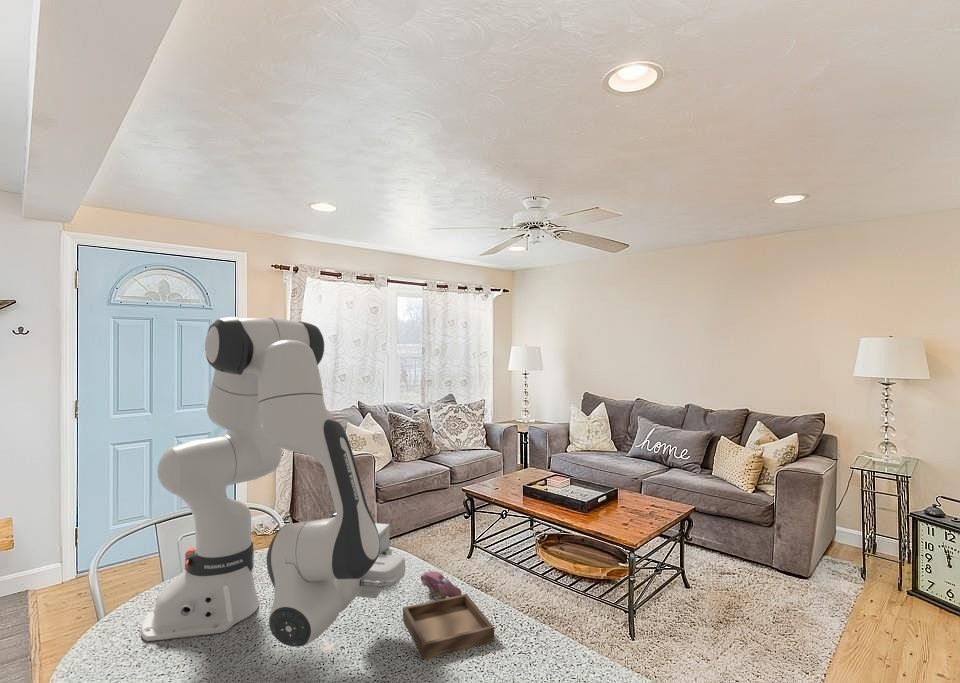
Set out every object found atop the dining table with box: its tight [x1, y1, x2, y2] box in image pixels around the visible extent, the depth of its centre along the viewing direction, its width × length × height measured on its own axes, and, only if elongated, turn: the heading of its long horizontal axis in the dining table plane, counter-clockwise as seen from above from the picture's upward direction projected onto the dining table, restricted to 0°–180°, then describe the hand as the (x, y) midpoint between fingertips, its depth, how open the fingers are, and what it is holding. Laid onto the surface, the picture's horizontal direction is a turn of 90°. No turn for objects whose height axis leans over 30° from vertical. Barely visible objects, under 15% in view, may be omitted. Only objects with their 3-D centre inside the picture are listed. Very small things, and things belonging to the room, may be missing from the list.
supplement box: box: [355, 522, 390, 599], centre depth 106 cm, size 7×7×13 cm
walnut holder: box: [402, 593, 495, 661], centre depth 105 cm, size 15×15×3 cm
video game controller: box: [420, 569, 463, 599], centre depth 120 cm, size 10×5×7 cm, turn 45°
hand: (368, 550), depth 107 cm, fingers closed on supplement box, 7 cm apart
